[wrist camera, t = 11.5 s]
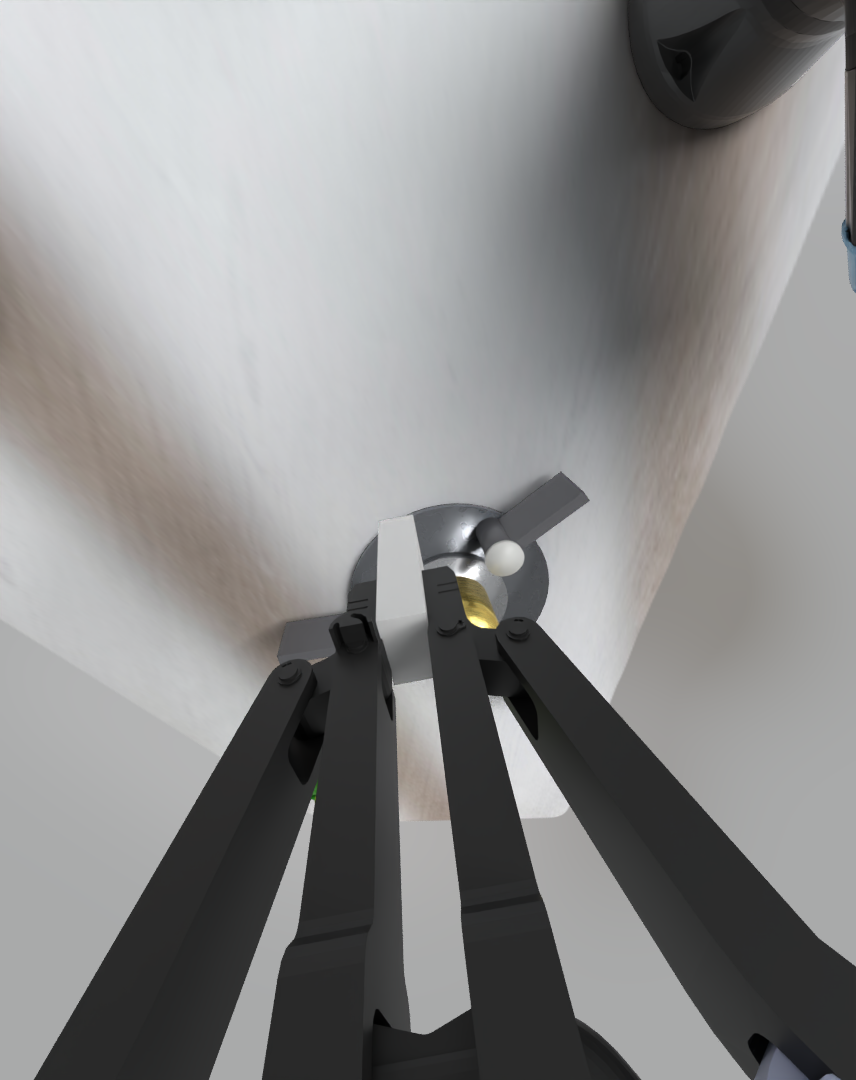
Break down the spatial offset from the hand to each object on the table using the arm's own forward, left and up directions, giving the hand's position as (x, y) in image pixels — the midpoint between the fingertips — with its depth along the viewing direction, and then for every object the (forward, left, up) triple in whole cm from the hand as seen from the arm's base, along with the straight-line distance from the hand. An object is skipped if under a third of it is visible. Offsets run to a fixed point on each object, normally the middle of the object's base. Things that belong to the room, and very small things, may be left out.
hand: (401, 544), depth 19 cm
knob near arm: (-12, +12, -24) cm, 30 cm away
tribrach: (-4, +22, -26) cm, 34 cm away
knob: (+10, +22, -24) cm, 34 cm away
